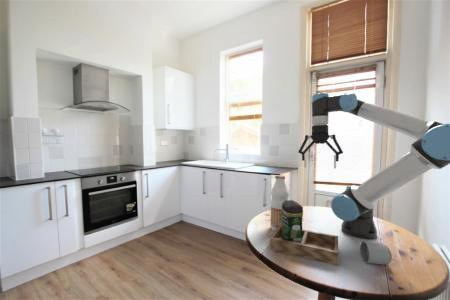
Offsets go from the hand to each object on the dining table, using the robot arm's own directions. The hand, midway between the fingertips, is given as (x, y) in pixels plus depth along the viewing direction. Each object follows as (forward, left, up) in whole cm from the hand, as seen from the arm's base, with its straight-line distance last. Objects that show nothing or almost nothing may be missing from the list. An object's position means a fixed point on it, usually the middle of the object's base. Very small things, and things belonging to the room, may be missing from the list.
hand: (319, 167), depth 108 cm
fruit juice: (+18, +7, -33) cm, 38 cm away
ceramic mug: (-20, +19, -33) cm, 43 cm away
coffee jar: (+9, +22, -32) cm, 40 cm away
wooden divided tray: (+4, +22, -32) cm, 39 cm away
